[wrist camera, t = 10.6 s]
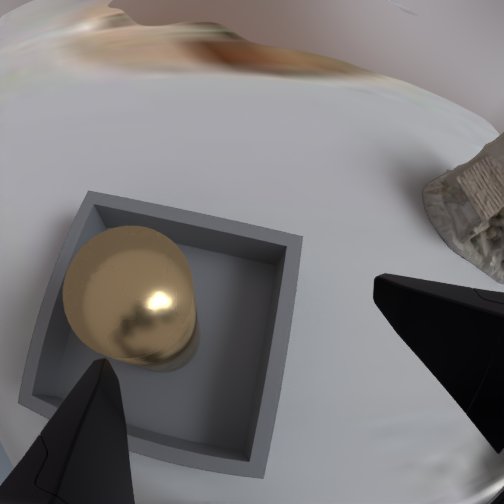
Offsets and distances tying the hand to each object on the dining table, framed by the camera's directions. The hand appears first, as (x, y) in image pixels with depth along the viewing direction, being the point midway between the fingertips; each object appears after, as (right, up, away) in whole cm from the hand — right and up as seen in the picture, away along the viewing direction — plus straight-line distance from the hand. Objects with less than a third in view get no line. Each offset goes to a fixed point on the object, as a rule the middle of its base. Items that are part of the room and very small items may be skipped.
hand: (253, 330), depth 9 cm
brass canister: (-6, -3, +12) cm, 14 cm away
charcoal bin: (-6, -4, +12) cm, 15 cm away
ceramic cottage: (+28, +5, +22) cm, 36 cm away
